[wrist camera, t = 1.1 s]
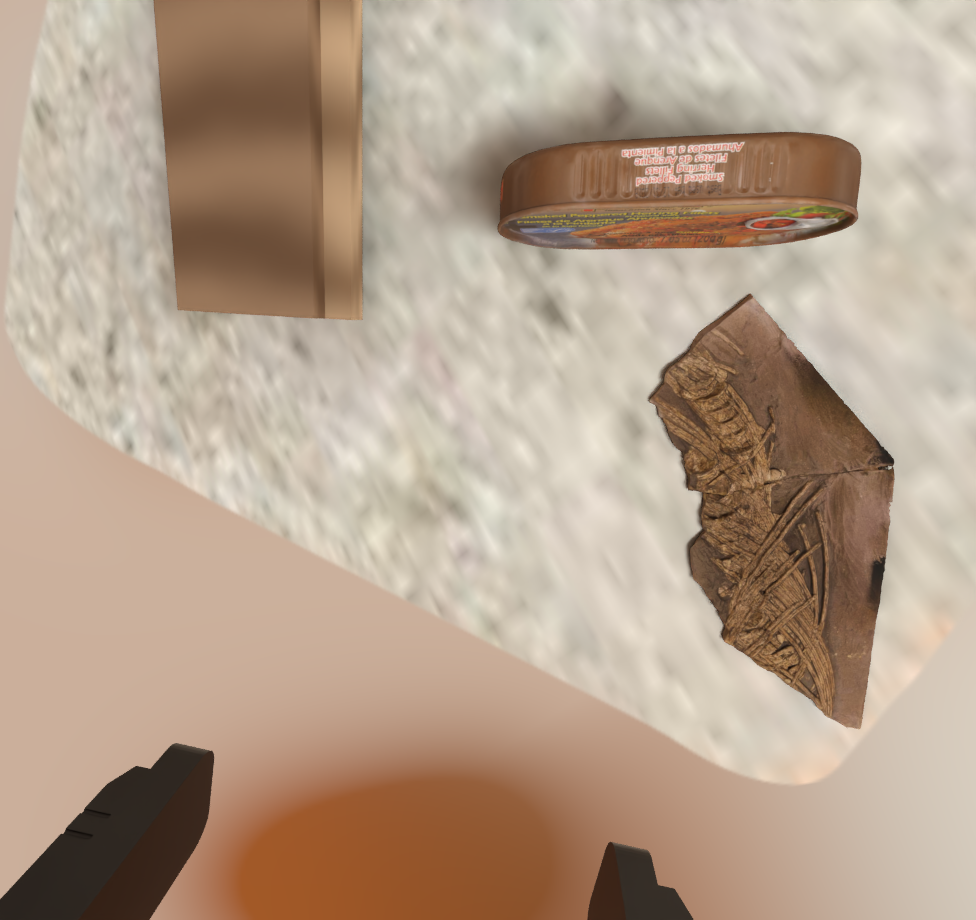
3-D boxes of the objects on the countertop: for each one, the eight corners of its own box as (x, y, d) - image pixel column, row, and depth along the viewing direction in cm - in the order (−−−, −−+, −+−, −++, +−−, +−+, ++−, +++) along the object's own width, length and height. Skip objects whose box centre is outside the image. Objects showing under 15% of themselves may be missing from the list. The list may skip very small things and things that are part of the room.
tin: (512, 250, 31) (480, 226, 23) (513, 187, 30) (481, 140, 22) (813, 247, 28) (896, 219, 20) (823, 177, 28) (912, 120, 20)
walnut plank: (200, -84, 30) (142, -141, 26) (372, -96, 29) (336, -159, 25) (224, 310, 35) (177, 309, 31) (371, 319, 34) (341, 319, 30)
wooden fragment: (632, 328, 31) (633, 329, 30) (855, 263, 28) (864, 261, 28) (731, 737, 36) (735, 749, 35) (931, 713, 33) (942, 726, 32)
